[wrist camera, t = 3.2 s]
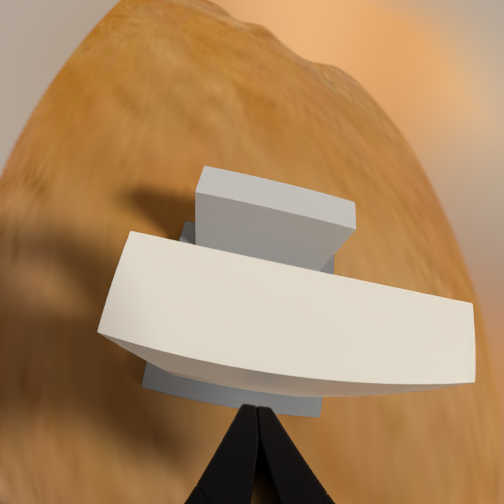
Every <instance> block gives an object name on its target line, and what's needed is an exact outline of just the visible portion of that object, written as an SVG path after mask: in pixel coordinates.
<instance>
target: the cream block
mask: <svg viewBox="0 0 504 504" xmlns="http://www.w3.org/2000/svg"><path fill="white" fill-rule="evenodd" d="M97 332H98V333H99V334H101V335H103V336H104V337H106V338H108V339H109V340H111V341H113V342H114V343H116V344H118V345H119V346H121V347H123V348H124V349H126V350H128V351H130V352H131V353H133V354H135V355H137V356H139V357H140V358H142V359H144V360H146V361H148V362H150V363H151V364H153V365H155V366H157V367H159V368H161V369H163V370H165V371H167V372H169V373H171V374H173V375H175V376H179V377H184V378H188V379H192V380H197V381H202V382H206V383H211V384H216V385H222V386H227V387H233V388H238V389H244V390H251V391H257V392H264V393H271V394H279V395H287V396H296V397H347V396H370V395H385V394H397V393H407V392H416V391H425V390H432V389H439V388H446V387H452V386H458V385H464V384H469V383H474V382H475V331H474V316H473V305H472V303H468V302H463V301H458V300H453V299H448V298H443V297H438V296H433V295H429V294H424V293H419V292H414V291H409V290H404V289H400V288H395V287H390V286H385V285H380V284H376V283H371V282H366V281H361V280H357V279H352V278H347V277H342V276H338V275H333V274H328V273H323V272H319V271H314V270H309V269H305V268H300V267H295V266H290V265H286V264H281V263H276V262H272V261H267V260H262V259H258V258H253V257H248V256H244V255H239V254H235V253H230V252H225V251H221V250H216V249H211V248H207V247H202V246H198V245H193V244H188V243H184V242H179V241H175V240H170V239H166V238H161V237H156V236H152V235H147V234H143V233H138V232H134V231H130V234H129V236H128V239H127V242H126V244H125V247H124V250H123V253H122V255H121V258H120V261H119V264H118V267H117V269H116V272H115V275H114V278H113V281H112V284H111V287H110V291H109V294H108V297H107V300H106V303H105V307H104V310H103V313H102V317H101V320H100V324H99V327H98V331H97Z"/></svg>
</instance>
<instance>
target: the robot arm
mask: <svg viewBox="0 0 504 504" xmlns="http://www.w3.org/2000/svg"><path fill="white" fill-rule="evenodd" d="M326 494H327V492H326V490H325V489H324V488H323V486H322V485H321V483H320V482H319V480H318V479H317V478H316V476H315V475H314V473H313V472H312V470H311V469H310V467H309V466H308V464H307V463H306V461H305V460H304V458H303V457H302V455H301V454H300V452H299V451H298V449H297V448H296V446H295V445H294V443H293V442H292V440H291V439H290V437H289V435H288V434H287V432H286V431H285V429H284V428H283V426H282V424H281V423H280V421H279V420H278V418H277V416H276V415H275V413H274V412H273V410H272V409H271V408H270V407H266V406H257V407H256V406H255V405H251V404H242V405H241V407H240V409H239V411H238V412H237V414H236V416H235V418H234V420H233V422H232V423H231V425H230V427H229V429H228V431H227V433H226V434H225V436H224V438H223V440H222V442H221V443H220V445H219V447H218V449H217V450H216V452H215V454H214V456H213V457H212V459H211V461H210V463H209V464H208V466H207V468H206V470H205V471H204V473H203V475H202V476H201V478H200V480H199V481H198V483H197V486H195V488H194V489H193V491H192V493H191V494H190V496H189V497H188V499H187V500H186V502H185V503H184V504H335V503H334V502H333V500H332V499H331V497H330V496H329V495H328V494H327V495H326Z"/></svg>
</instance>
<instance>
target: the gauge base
mask: <svg viewBox="0 0 504 504" xmlns="http://www.w3.org/2000/svg"><path fill="white" fill-rule="evenodd" d="M355 230H356V216H355V202H353V201H349V200H346V199H342V198H339V197H335V196H331V195H328V194H324V193H320V192H317V191H313V190H309V189H305V188H301V187H297V186H293V185H289V184H285V183H281V182H277V181H273V180H268V179H264V178H260V177H255V176H251V175H246V174H242V173H237V172H232V171H228V170H223V169H218V168H213V167H208V166H204V168H203V171H202V174H201V177H200V180H199V183H198V185H197V188H196V191H195V223H193V222H189V221H185V224H184V227H183V230H182V233H181V236H180V240H179V242H184V243H188V244H193V245H198V246H202V247H207V248H211V249H216V250H221V251H225V252H230V253H235V254H239V255H244V256H248V257H253V258H258V259H262V260H267V261H272V262H276V263H281V264H286V265H290V266H295V267H300V268H305V269H309V270H314V271H319V272H323V273H328V274H333V273H334V254H335V253H336V252H337V251H338V249H339V248H340V247H341V246H342V245H343V244H344V243H345V241H346V240H347V239H348V238H349V237H350V236H351V234H352V233H353V232H354V231H355ZM142 387H143V388H147V389H151V390H154V391H158V392H162V393H166V394H170V395H174V396H178V397H182V398H187V399H191V400H196V401H200V402H205V403H210V404H216V405H221V406H227V407H233V408H239V409H240V407H241V405H242V404H251V405H255V406H256V407H257V406H266V407H270V408H271V409H272V410H273V412H274V413H276V414H285V415H296V416H308V417H320V412H321V405H322V397H296V396H287V395H279V394H271V393H264V392H257V391H251V390H244V389H238V388H233V387H227V386H222V385H216V384H211V383H206V382H202V381H197V380H192V379H188V378H184V377H179V376H175V375H173V374H171V373H169V372H167V371H165V370H163V369H161V368H159V367H157V366H155V365H153V364H151V363H150V362H148V361H147V363H146V368H145V372H144V377H143V382H142Z"/></svg>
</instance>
